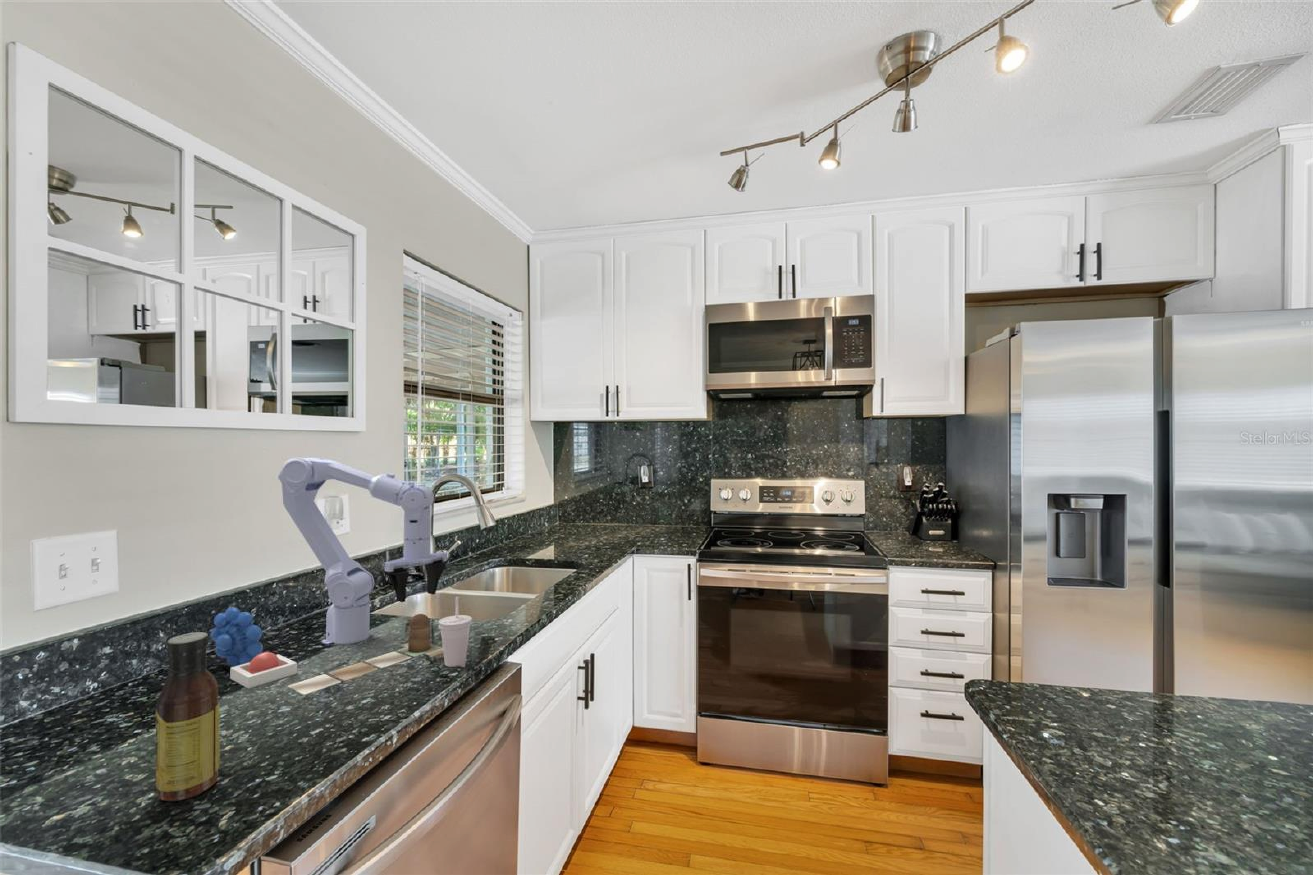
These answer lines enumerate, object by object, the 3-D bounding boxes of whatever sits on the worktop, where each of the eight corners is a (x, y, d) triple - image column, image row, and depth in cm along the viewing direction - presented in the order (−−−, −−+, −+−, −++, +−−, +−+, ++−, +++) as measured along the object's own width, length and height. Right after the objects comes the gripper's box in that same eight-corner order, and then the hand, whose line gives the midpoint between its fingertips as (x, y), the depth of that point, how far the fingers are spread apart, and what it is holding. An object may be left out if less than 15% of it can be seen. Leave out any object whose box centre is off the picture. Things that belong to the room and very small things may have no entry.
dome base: (230, 683, 102) (230, 667, 102) (278, 669, 109) (278, 654, 109) (248, 694, 98) (248, 677, 98) (297, 678, 105) (297, 662, 105)
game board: (278, 688, 100) (278, 683, 100) (417, 643, 124) (417, 638, 124) (309, 705, 94) (309, 699, 94) (450, 654, 117) (450, 649, 117)
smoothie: (477, 662, 113) (477, 594, 113) (463, 675, 106) (463, 602, 107) (447, 661, 113) (448, 593, 114) (432, 673, 107) (432, 602, 107)
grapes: (190, 673, 107) (191, 612, 107) (224, 660, 114) (225, 602, 114) (240, 678, 105) (241, 615, 105) (271, 664, 112) (272, 605, 112)
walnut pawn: (404, 650, 117) (404, 615, 117) (422, 644, 120) (422, 610, 121) (416, 654, 114) (416, 618, 115) (434, 647, 118) (434, 613, 118)
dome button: (243, 680, 103) (244, 654, 103) (272, 671, 107) (273, 646, 107) (254, 686, 100) (255, 659, 100) (283, 677, 104) (284, 651, 104)
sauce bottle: (181, 776, 73) (184, 628, 74) (230, 774, 74) (233, 626, 74) (139, 808, 67) (143, 645, 67) (193, 805, 67) (196, 643, 68)
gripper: (397, 544, 118) (396, 607, 118) (455, 535, 130) (454, 592, 130) (379, 541, 122) (378, 602, 121) (436, 533, 134) (436, 588, 134)
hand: (416, 597), depth 126 cm, fingers open, 7 cm apart
